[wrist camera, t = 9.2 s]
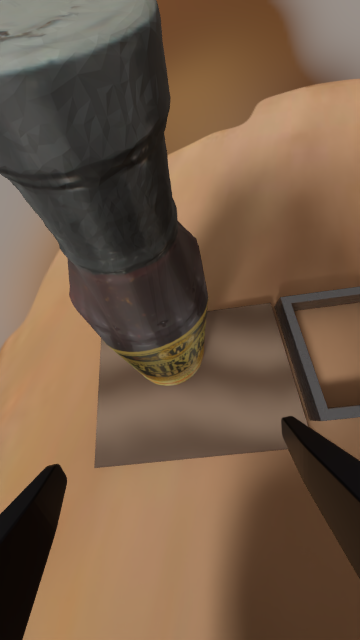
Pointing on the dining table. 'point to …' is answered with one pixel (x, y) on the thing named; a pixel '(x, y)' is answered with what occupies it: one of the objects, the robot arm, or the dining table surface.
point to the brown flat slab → (201, 397)
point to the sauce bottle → (104, 172)
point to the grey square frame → (300, 353)
